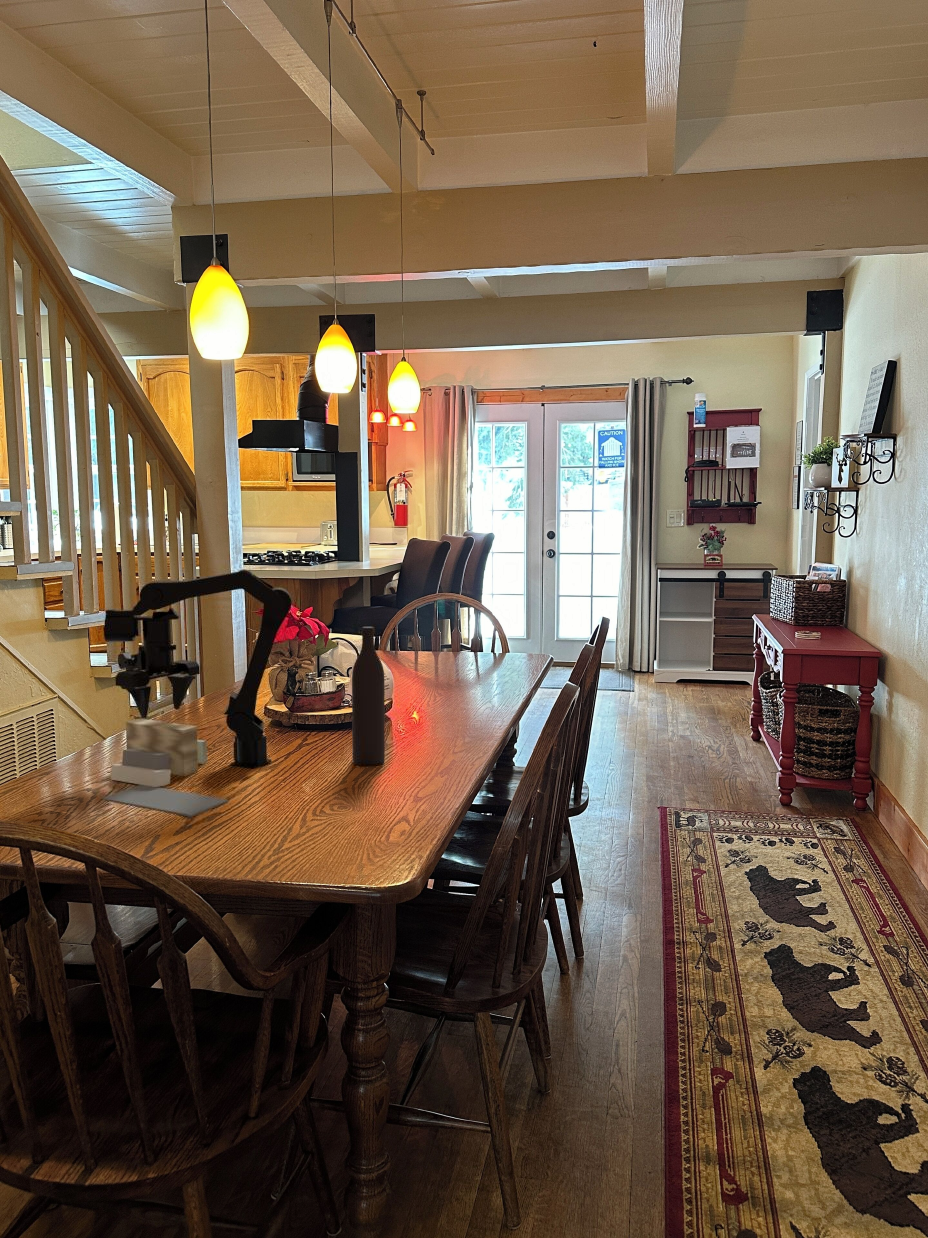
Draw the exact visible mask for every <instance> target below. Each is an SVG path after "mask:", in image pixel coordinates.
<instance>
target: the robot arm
mask: <svg viewBox="0 0 928 1238" xmlns="http://www.w3.org/2000/svg"><path fill="white" fill-rule="evenodd" d="M235 590H243V591H245V592H246V593H248V594H249V595H251V596H252V597H253V598H254V599H255V600H257V601H258V602H260V603H261V604H263V608H262V614H261V622H260V623H261V624H260V628H259V629H260V630H259V632H258V636H257V638H256V641H255V644H254V648H253V651H252V653H251V657H250V660H249V663H248V667H247V668H246V669H247V670H246V672H245V675H244V678H243V681H242V684H241V686H240V688H239V690H238V692H235V691H233V690H232V691H231V692H230V695H229V700H228V704H227V706H226V707H225V711H224V713H223V714H224V715H223V716H226V720H225V722H226V725H227V728H229V729H230V731H231V732H234V733H235V735H234V741H233V760H234V761H232V762H230V764H229V765H230V766H232V767H233V766H234V767H240V768H247V769H256V768H259V767H261V766H264V765H267V764H270V763H271V762H272V759H271V758H268V755H267V754H268V752H267V751H268V748H267V747H268V746H267V741H268V740H267V735H264V730H265V722H264V720H262V719H261V718H260V717H259V716H258V715H257V714H256V707H257V706H256V705H257V701H258V700H257V699H258V693H259V689H260V687H261V683H262V680H263V677H264V674H265V671H266V668H267V664H268V662H269V658H270V655H271V652H272V649H273V646H274V642H275V639H276V636H277V634H278V632H279V630H280V628H281V627H282V625H283V624H284V621H285V619H286V617H287V616H288V614H289V612H290V610H291V608H292V595H291V594H290V592H289V591H288V590H287V589H285V587H284V588H283V587H279V586H278V587H277V586H276V587H274V586H272V585H271V584H269V583H268V582H266V581H265V580H263V579H262V578H260V577H259V576H257V575H255V574H254V573H253V572H252V571H251V570H249V569H240V570H238V571H235V572H233V571H232V572H227V573H223V574H217V575H211V576H205V577H199V578H193V579H189V580H188V579H187V580H173V579H172V580H153V581H151V582H148V583H146V584H144V585H143V587H142V588H141V589H140V591H139V600H138V602H137V603H136V605H134V606H133V607H132V609H115V608H114V609H112V608H111V609H106V610H105V618H104V626H103V637H104V641H105V642H106V643H119V642H120V643H121V642H126V643H127V642H135V641H136V637H140V636H141V631H142V641H143V643H142V645H139V647H138V648H137V649H138V650H137V651H138V653H136V654H131V653H130V652H129V651H127V652H122V653H119V654H118V655H117V664H118V668H119V669H120V670H123V671H118V672H117V673H116V675H115V677H114V678H115V680H114V681H115V686H116V687H120V689H122V690H126V691H127V692H128V693H129V694H130V695H131V698H132V699H133V701H134V703H135V706H136V708H137V709H138V712H139V714H140V717H141V719H146V718H147V717H148V712H149V707H150V706H149V705H150V697H151V689H152V686H150V685H149V683H150V682H151V680H153V679H159V678H160V679H161V678H164V677H167V679H168V681H169V683H170V684H171V695H172V702H173V703H172V704H173V709H174V710H179V709H181V708H180V707H181V705H182V703H183V701H184V698H185V696H186V694H187V692H188V690H189V688H190V686H191V684H192V683H193V681H194V680H195V679H196V678H197V676H196V675H200V673H201V672H200V671H201V670H200V665H199V663H198V661H197V660H195V661H194V660H186V659H180V660H179V659H178V660H174V661H173V651H177V644H173V641H172V620H179V619H180V618H181V614H180V613H178V612H177V611H176V610H175V609H174V607H170V608H169V609H168V610H167V611H166V610H163V611H162V610H161V611H158V610H160V609H163V608H166V607H169V606H172V605H175V604H176V603H179V602H182V601H184V600H187V599H192V598H197V597H203V596H207V595H214V594H220V593H224V592H229V591H235ZM150 610H152V611H153V612H152V615H147V616H143V615H144V614H145V613H147V612H148V611H150ZM141 622H142V625H141ZM141 626H142V627H141ZM141 629H142V630H141Z"/></svg>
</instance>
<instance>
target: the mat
mask: <svg viewBox="0 0 928 1238" xmlns="http://www.w3.org/2000/svg"><path fill="white" fill-rule="evenodd" d="M101 799H102V800H103V801H108V802H114V803H119V804H124V805H129V806H134V807H140V808H145V809H150V810H156V811H161V812H166V813H171V814H177V815H179V816H184V817H187V818H193V817H195V816H197V815H199V814H203V813H205V812H207V811H209V810H212V809H214V808H217V807H219V806H221V805H224V804H226V803H228V802H229V799H225V798H221V797H215V796H209V795H205V794H204V795H203V794H198V793H192V792H187V791H180V790H175V789H169V788H164V787H160V786H159V787H152V786H146V785H140V784H137V785H136V786H133V787H130V788H127V789H124V790H120V791H118V792H116V793H115V792H114V793H113V794H110V795H107V796H104V797H102V798H101Z"/></svg>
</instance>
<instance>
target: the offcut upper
mask: <svg viewBox="0 0 928 1238" xmlns="http://www.w3.org/2000/svg"><path fill="white" fill-rule="evenodd" d="M121 761H122V762H121V763H122V765H127V766H133V767H140V768H147V769H153V770H160V769H167V768H168V766H169V753H162V752H155V751H147V750H140V749H128V750H127V749H123V750H122V759H121Z"/></svg>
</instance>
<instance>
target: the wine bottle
mask: <svg viewBox="0 0 928 1238" xmlns="http://www.w3.org/2000/svg"><path fill="white" fill-rule="evenodd" d="M360 634H361V637H362V638H361V639H362V640H361V643H362V644H361V650H360V651H359V653H358V656H357V658H356V660H355V662H354V664H353V667H352V673H351V707H352V709H351V713H352V714H351V716H352V717H351V720H352V723H351V724H352V725H351V729H352V731H351V733H352V737H351V741H352V743H351V744H352V746H351V747H352V762H353V764H355V765H358V766H363V767H371V766H372V767H373V766H374V767H375V766H378V765H381V764H383V763H385V759H386V755H385V754H386V752H385V751H386V749H385V747H386V743H385V742H386V741H385V740H386V739H385V738H386V737H385V735H386V731H385V730H386V729H385V715H386V714H385V713H386V712H385V710H386V709H385V706H386V705H385V702H386V701H385V698H386V697H385V693H386V692H385V691H386V690H385V670H384V667H383V664H382V661H381V659H380V657H379V655H378V654H377V651H376V649H375V641H374V640H375V639H374V638H375V634H376V633H375V628H374V627H373V626H362V627H361V630H360Z"/></svg>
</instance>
